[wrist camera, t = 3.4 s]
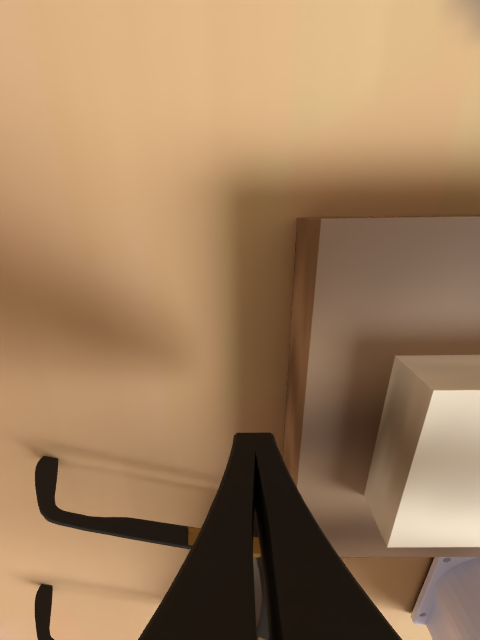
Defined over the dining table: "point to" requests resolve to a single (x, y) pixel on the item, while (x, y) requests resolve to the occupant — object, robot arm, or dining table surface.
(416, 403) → the cream rectangular block
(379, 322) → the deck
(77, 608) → the dining table surface
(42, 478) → the sunglasses
